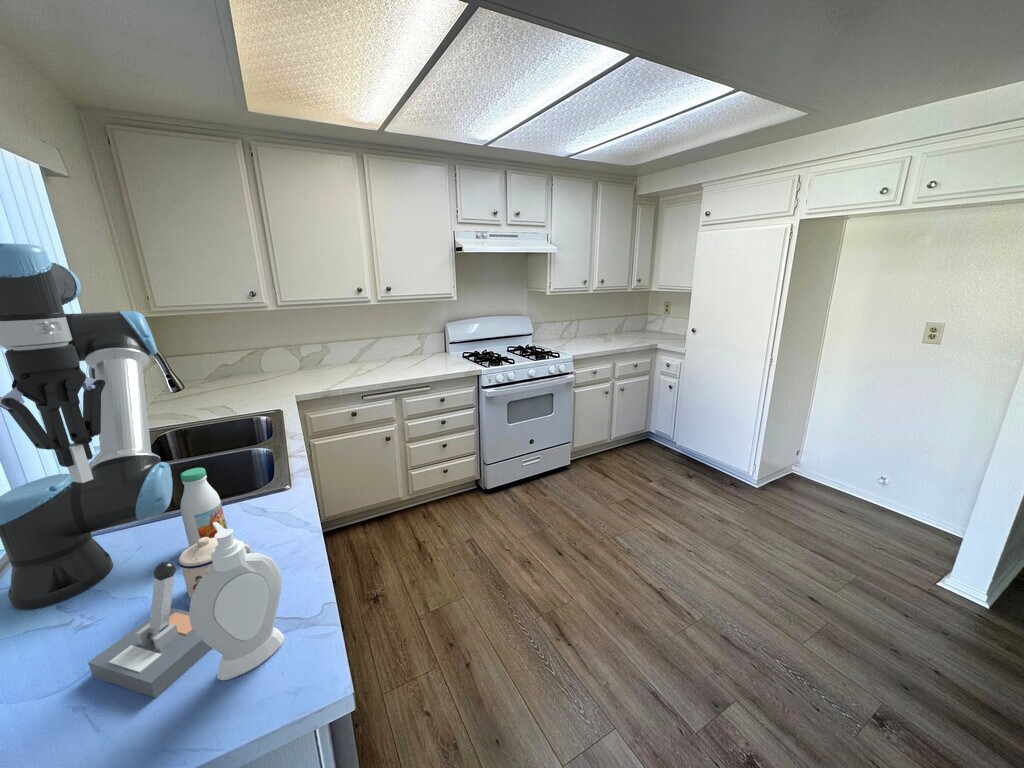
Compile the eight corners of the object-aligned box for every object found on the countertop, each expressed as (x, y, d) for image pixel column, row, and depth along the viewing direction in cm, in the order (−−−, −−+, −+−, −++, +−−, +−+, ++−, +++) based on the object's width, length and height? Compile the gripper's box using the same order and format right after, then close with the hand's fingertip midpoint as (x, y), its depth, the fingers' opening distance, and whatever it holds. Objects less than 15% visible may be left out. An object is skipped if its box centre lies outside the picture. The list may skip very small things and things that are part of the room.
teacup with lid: (191, 611, 80) (177, 560, 77) (184, 587, 86) (171, 539, 83) (260, 579, 88) (250, 532, 85) (249, 560, 94) (240, 515, 91)
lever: (153, 647, 67) (163, 566, 68) (140, 644, 68) (150, 563, 69) (173, 638, 70) (181, 560, 71) (160, 634, 71) (168, 557, 72)
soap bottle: (280, 618, 77) (257, 504, 71) (298, 640, 72) (275, 519, 66) (198, 667, 68) (163, 540, 62) (212, 696, 63) (176, 561, 57)
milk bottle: (188, 560, 94) (168, 482, 89) (193, 542, 101) (174, 469, 96) (228, 548, 98) (211, 473, 93) (230, 532, 105) (214, 461, 100)
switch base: (155, 698, 63) (146, 670, 62) (93, 676, 67) (83, 650, 65) (226, 634, 74) (220, 609, 73) (169, 619, 78) (163, 595, 76)
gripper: (-5, 353, 58) (47, 502, 64) (105, 340, 70) (140, 466, 76) (-37, 352, 60) (16, 496, 66) (75, 339, 72) (111, 462, 78)
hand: (82, 480), depth 71 cm, fingers closed
